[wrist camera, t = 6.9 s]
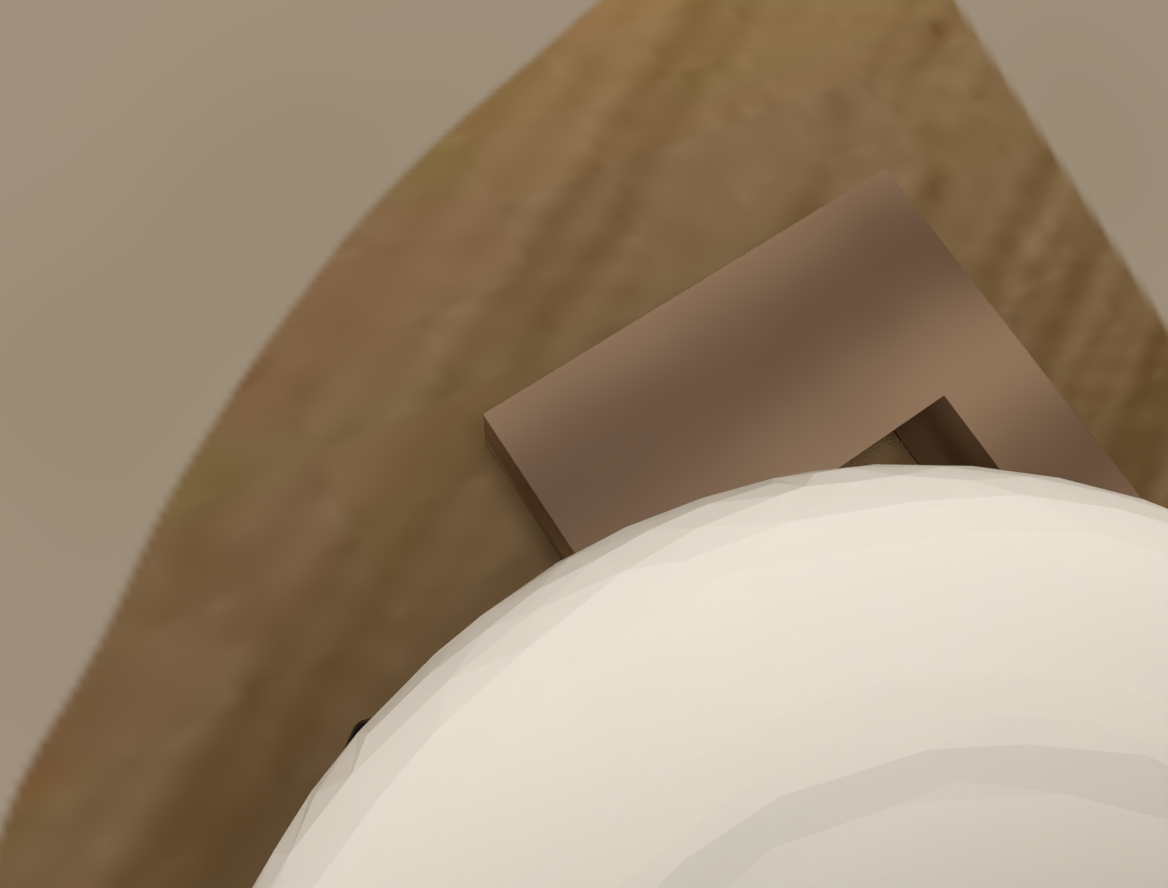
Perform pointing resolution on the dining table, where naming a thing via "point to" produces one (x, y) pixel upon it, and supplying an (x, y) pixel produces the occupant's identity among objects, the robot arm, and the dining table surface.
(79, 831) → the dining table surface
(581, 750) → the sprinkles bottle
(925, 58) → the dining table surface
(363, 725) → the robot arm
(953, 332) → the socket block
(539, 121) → the dining table surface
